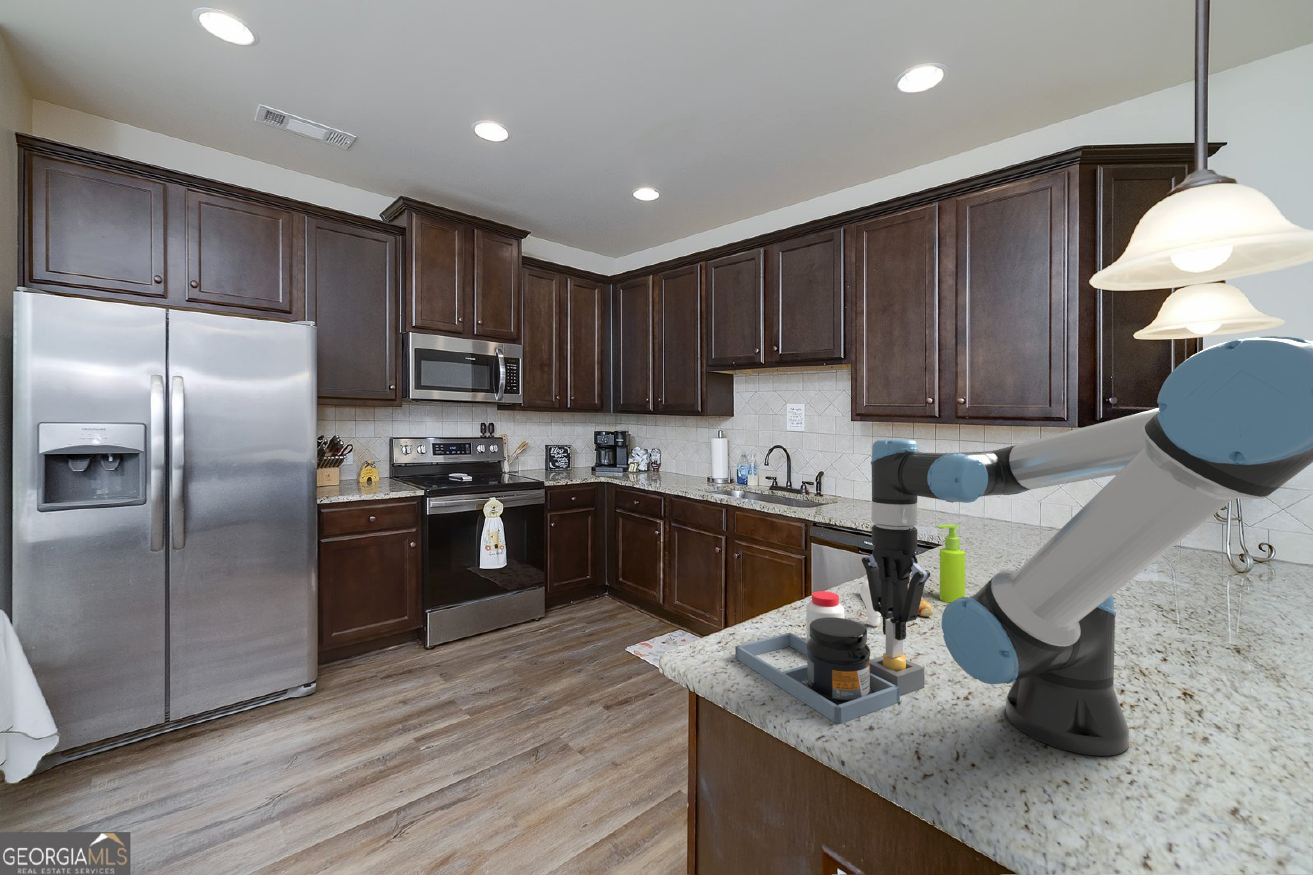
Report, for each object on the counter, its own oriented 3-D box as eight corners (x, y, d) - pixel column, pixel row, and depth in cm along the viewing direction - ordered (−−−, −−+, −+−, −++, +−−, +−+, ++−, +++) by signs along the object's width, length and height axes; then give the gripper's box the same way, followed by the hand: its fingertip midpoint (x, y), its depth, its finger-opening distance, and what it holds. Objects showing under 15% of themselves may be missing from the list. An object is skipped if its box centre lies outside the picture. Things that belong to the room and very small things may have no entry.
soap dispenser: (931, 597, 146) (931, 522, 145) (955, 596, 146) (955, 522, 146) (945, 604, 140) (945, 527, 139) (970, 603, 141) (970, 526, 140)
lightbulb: (875, 620, 130) (875, 574, 129) (894, 629, 124) (894, 581, 124) (854, 623, 128) (854, 576, 127) (872, 632, 122) (872, 584, 122)
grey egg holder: (924, 687, 97) (924, 667, 97) (897, 696, 94) (897, 676, 94) (891, 671, 103) (891, 653, 103) (865, 679, 100) (865, 661, 100)
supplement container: (880, 710, 90) (880, 638, 89) (815, 710, 90) (815, 638, 89) (857, 680, 100) (857, 615, 100) (800, 680, 100) (799, 615, 100)
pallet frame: (899, 702, 92) (899, 687, 92) (837, 724, 86) (837, 708, 85) (790, 644, 116) (790, 632, 116) (735, 658, 110) (735, 646, 110)
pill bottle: (847, 655, 110) (847, 602, 110) (807, 653, 112) (807, 600, 112) (842, 640, 118) (842, 590, 118) (805, 638, 120) (805, 588, 119)
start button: (910, 676, 98) (910, 658, 98) (896, 681, 96) (896, 662, 96) (892, 668, 101) (892, 650, 101) (878, 673, 99) (878, 654, 99)
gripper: (941, 529, 94) (940, 664, 94) (879, 517, 105) (879, 638, 106) (911, 533, 90) (911, 674, 91) (850, 521, 102) (851, 646, 102)
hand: (894, 654), depth 98 cm, fingers closed
